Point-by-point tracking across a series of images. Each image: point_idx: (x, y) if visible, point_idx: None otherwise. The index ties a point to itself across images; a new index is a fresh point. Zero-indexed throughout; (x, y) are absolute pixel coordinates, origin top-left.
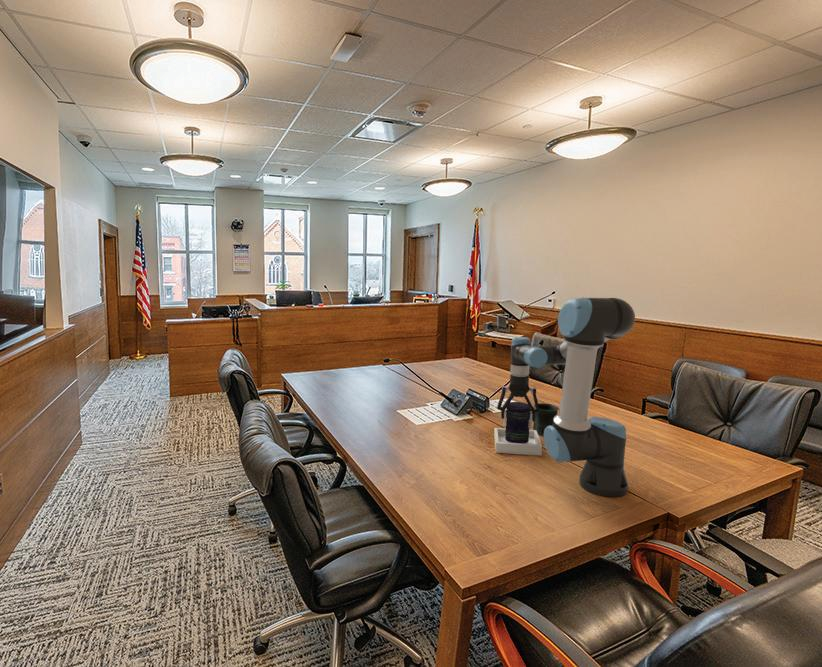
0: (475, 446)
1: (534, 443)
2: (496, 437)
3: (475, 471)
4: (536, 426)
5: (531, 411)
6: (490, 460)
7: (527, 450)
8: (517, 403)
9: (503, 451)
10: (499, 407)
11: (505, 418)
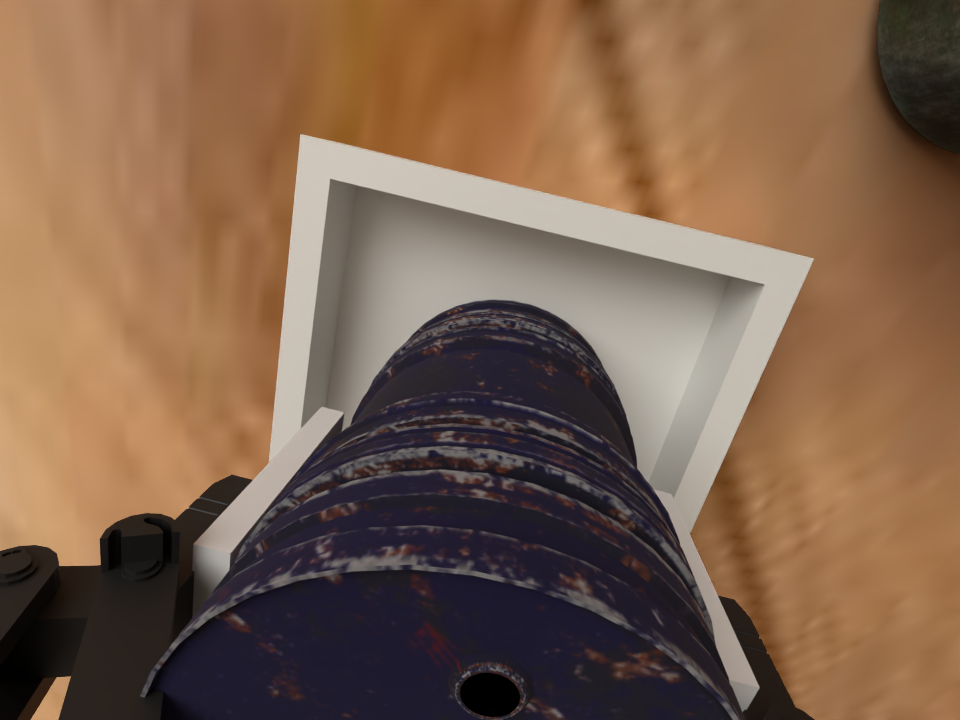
0: (152, 375)
1: (664, 416)
2: (280, 434)
3: None
4: (936, 38)
5: (754, 689)
6: None
7: None
8: (464, 705)
9: None
10: (16, 694)
11: None
